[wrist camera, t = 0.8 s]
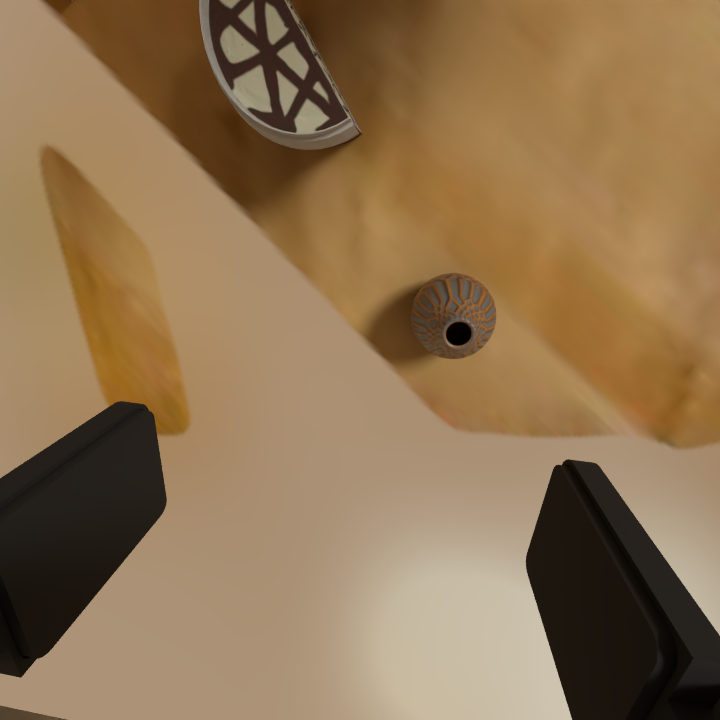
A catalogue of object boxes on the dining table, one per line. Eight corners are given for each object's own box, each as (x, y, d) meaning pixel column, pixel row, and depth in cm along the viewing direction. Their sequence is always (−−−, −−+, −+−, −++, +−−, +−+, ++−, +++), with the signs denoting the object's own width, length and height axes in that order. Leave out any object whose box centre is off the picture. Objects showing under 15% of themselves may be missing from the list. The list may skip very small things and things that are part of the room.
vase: (395, 310, 37) (390, 339, 28) (446, 252, 34) (456, 264, 26) (450, 356, 37) (460, 396, 29) (503, 301, 35) (531, 329, 27)
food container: (226, 49, 31) (145, -21, 21) (287, -7, 29) (228, -109, 20) (311, 193, 34) (272, 187, 24) (371, 151, 32) (354, 127, 23)
